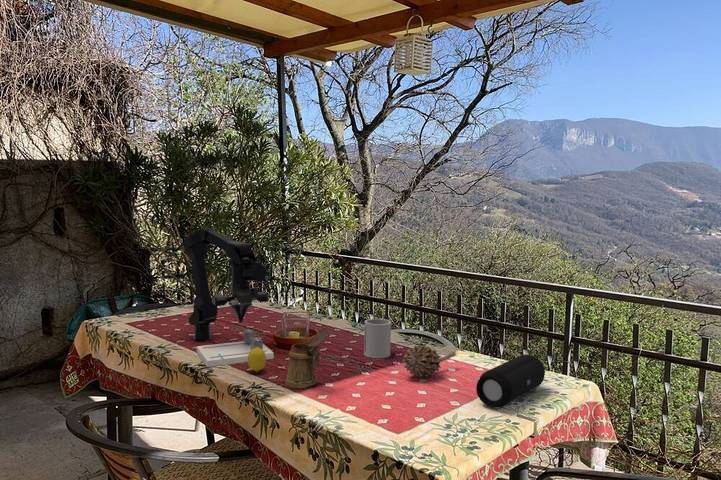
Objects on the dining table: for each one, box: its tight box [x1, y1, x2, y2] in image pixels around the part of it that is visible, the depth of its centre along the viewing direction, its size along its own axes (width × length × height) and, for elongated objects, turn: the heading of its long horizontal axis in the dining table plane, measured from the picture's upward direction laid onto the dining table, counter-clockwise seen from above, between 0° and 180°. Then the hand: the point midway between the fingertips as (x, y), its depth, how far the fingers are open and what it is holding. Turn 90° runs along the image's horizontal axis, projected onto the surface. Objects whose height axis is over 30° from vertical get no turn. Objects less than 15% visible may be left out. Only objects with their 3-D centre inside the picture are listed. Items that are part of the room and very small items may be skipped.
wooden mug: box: [285, 327, 329, 389], centre depth 154 cm, size 9×14×18 cm, turn 54°
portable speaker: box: [475, 353, 546, 408], centre depth 148 cm, size 26×10×10 cm, turn 138°
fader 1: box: [242, 328, 256, 344], centre depth 190 cm, size 4×3×4 cm
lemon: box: [247, 347, 267, 373], centre depth 165 cm, size 6×6×8 cm
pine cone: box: [402, 344, 458, 378], centre depth 166 cm, size 22×10×10 cm, turn 133°
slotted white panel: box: [196, 340, 275, 368], centre depth 182 cm, size 18×22×2 cm
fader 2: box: [251, 337, 264, 350], centre depth 179 cm, size 4×3×4 cm
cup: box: [363, 318, 392, 358], centre depth 184 cm, size 9×9×12 cm
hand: (240, 322), depth 188 cm, fingers closed
